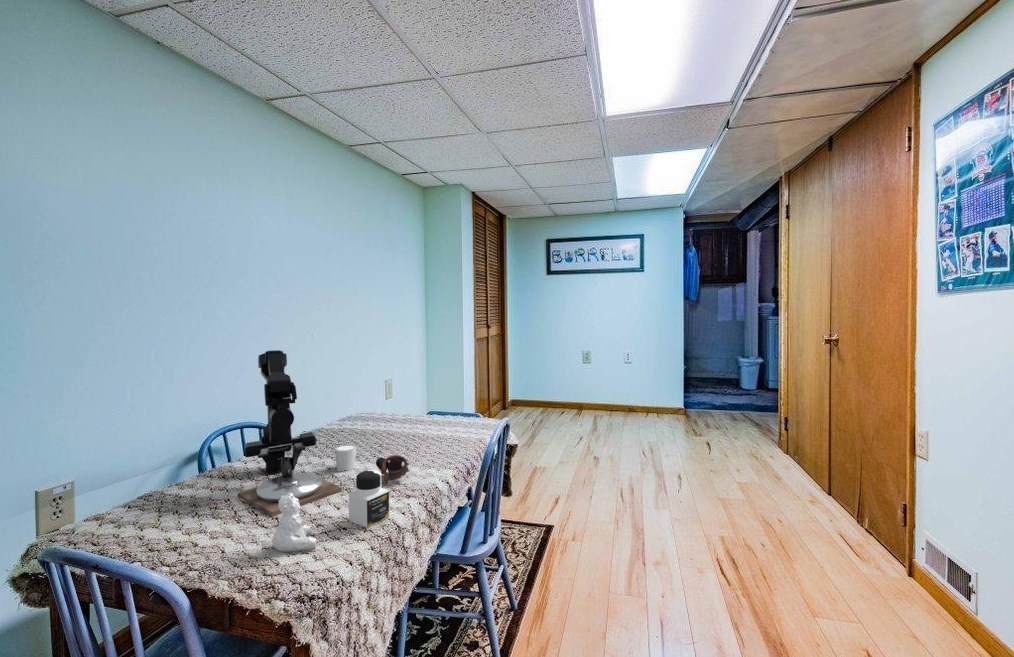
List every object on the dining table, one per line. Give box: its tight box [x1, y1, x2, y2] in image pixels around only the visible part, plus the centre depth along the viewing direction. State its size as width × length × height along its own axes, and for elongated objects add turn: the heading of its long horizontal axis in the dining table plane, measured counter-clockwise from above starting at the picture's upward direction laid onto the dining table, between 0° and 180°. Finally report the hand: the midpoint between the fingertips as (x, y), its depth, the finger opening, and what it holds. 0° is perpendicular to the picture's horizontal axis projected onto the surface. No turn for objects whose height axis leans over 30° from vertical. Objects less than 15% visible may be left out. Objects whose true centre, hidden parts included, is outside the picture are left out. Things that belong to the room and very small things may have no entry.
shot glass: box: [334, 444, 357, 472], centre depth 147 cm, size 7×7×7 cm
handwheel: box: [256, 456, 323, 502], centre depth 126 cm, size 17×17×7 cm
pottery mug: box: [375, 454, 410, 484], centre depth 139 cm, size 12×10×8 cm
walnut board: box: [236, 478, 343, 518], centre depth 126 cm, size 20×20×1 cm
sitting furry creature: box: [271, 493, 317, 553], centre depth 98 cm, size 10×9×12 cm
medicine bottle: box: [348, 469, 390, 529], centre depth 111 cm, size 7×7×12 cm
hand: (282, 472), depth 131 cm, fingers open, 5 cm apart
